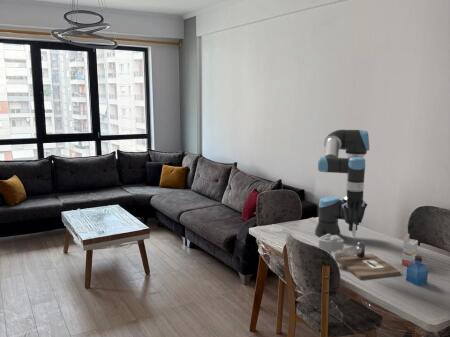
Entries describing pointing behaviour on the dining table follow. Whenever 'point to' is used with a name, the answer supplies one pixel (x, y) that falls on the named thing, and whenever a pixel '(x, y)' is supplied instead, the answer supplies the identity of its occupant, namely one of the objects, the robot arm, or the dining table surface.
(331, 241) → the lumpy-topped squat cylinder
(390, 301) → the dining table surface
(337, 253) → the swing bar
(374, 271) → the label board
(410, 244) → the ink cartridge box
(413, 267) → the perfume bottle
